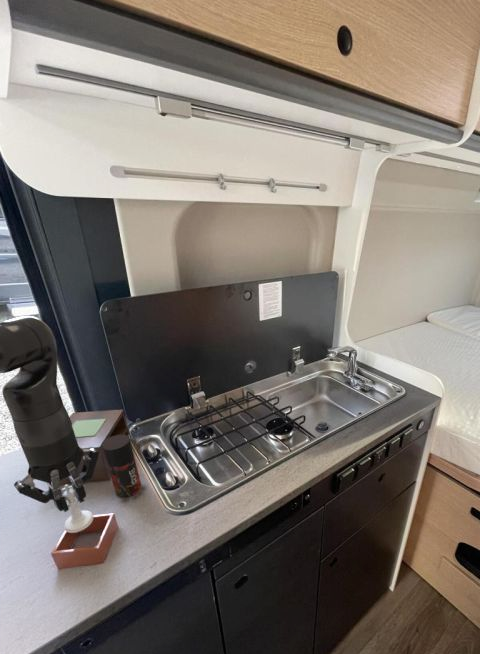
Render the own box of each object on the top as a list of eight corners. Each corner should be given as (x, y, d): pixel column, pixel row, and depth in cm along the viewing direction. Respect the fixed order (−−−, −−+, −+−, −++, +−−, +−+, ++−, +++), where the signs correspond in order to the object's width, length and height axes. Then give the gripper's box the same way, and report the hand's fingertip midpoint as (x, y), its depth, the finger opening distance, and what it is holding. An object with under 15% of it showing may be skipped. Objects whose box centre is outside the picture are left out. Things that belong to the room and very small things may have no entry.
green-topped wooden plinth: (52, 485, 85) (38, 451, 80) (82, 442, 101) (72, 412, 96) (109, 480, 87) (99, 446, 82) (130, 439, 103) (123, 408, 98)
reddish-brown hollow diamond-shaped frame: (57, 569, 65) (50, 554, 63) (77, 531, 73) (71, 517, 71) (103, 563, 66) (98, 548, 64) (118, 527, 74) (114, 512, 72)
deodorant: (123, 480, 87) (110, 434, 81) (145, 481, 87) (134, 434, 81) (111, 497, 82) (96, 449, 75) (134, 498, 81) (121, 450, 75)
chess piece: (94, 525, 66) (81, 488, 62) (65, 537, 63) (50, 499, 59) (92, 508, 69) (80, 472, 65) (64, 519, 67) (50, 482, 63)
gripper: (80, 408, 64) (100, 476, 71) (-12, 443, 54) (23, 518, 61) (98, 422, 60) (117, 492, 67) (3, 462, 50) (38, 540, 57)
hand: (72, 504), depth 64 cm, fingers closed on chess piece
